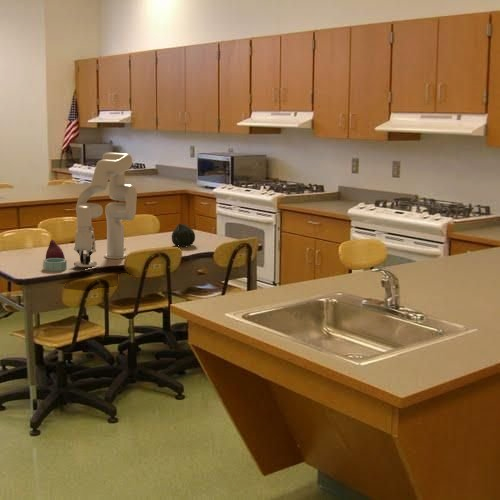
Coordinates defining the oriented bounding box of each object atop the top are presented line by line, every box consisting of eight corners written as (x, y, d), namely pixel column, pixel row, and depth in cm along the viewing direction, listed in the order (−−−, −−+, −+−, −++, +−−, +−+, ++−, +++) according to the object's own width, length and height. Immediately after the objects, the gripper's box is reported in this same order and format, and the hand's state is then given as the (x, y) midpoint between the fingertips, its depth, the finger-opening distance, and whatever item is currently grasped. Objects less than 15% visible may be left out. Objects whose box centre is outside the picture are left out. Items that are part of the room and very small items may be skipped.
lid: (81, 260, 397) (80, 250, 396) (100, 263, 394) (100, 252, 392) (69, 265, 386) (69, 255, 385) (89, 268, 382) (89, 257, 381)
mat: (80, 265, 397) (80, 264, 397) (100, 267, 393) (100, 266, 393) (68, 270, 385) (68, 269, 385) (89, 272, 382) (89, 271, 382)
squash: (202, 237, 462) (189, 218, 463) (191, 241, 448) (177, 222, 450) (188, 249, 468) (174, 231, 470) (176, 254, 455) (162, 235, 456)
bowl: (51, 266, 392) (51, 257, 391) (69, 268, 389) (69, 259, 388) (40, 270, 382) (40, 261, 381) (58, 272, 379) (58, 263, 378)
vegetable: (55, 270, 397) (52, 246, 390) (42, 265, 402) (38, 241, 395) (69, 263, 404) (66, 239, 397) (56, 258, 409) (53, 234, 402)
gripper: (101, 228, 387) (102, 262, 391) (74, 226, 391) (75, 259, 395) (94, 231, 380) (95, 265, 384) (67, 229, 384) (68, 262, 388)
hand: (85, 262), depth 390 cm, fingers closed on lid, 2 cm apart
